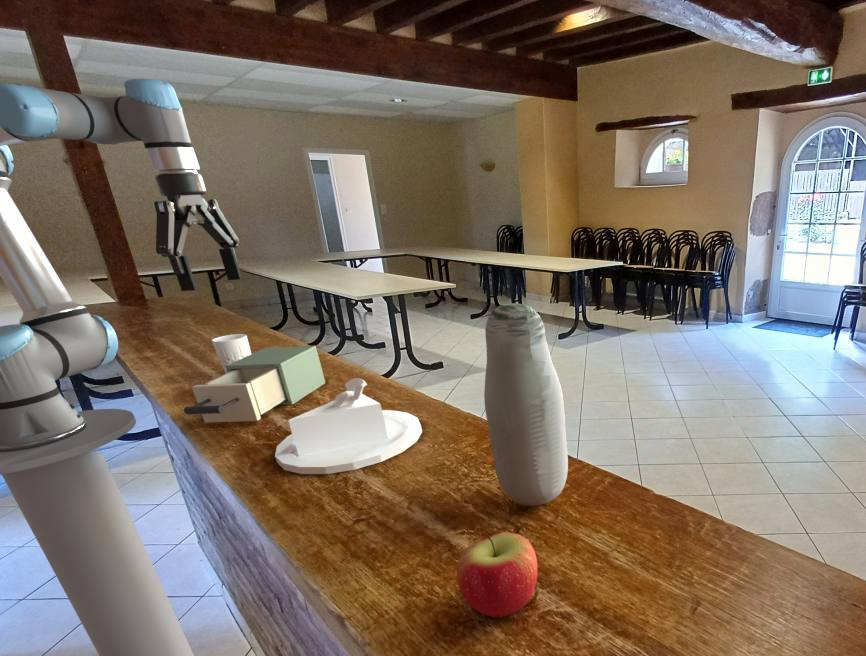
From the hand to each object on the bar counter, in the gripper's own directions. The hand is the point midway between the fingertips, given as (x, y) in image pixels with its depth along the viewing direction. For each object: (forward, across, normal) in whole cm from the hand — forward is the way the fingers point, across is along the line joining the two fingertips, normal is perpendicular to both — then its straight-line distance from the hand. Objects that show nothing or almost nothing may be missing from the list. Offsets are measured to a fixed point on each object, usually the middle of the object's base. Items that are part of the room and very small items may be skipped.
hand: (213, 284), depth 115 cm
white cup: (+27, -24, -19) cm, 41 cm away
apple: (+27, +66, +72) cm, 101 cm away
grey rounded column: (+27, +44, +72) cm, 89 cm away
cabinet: (+27, -6, +4) cm, 28 cm away
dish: (+27, +22, +34) cm, 49 cm away
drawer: (+26, +9, +4) cm, 28 cm away
